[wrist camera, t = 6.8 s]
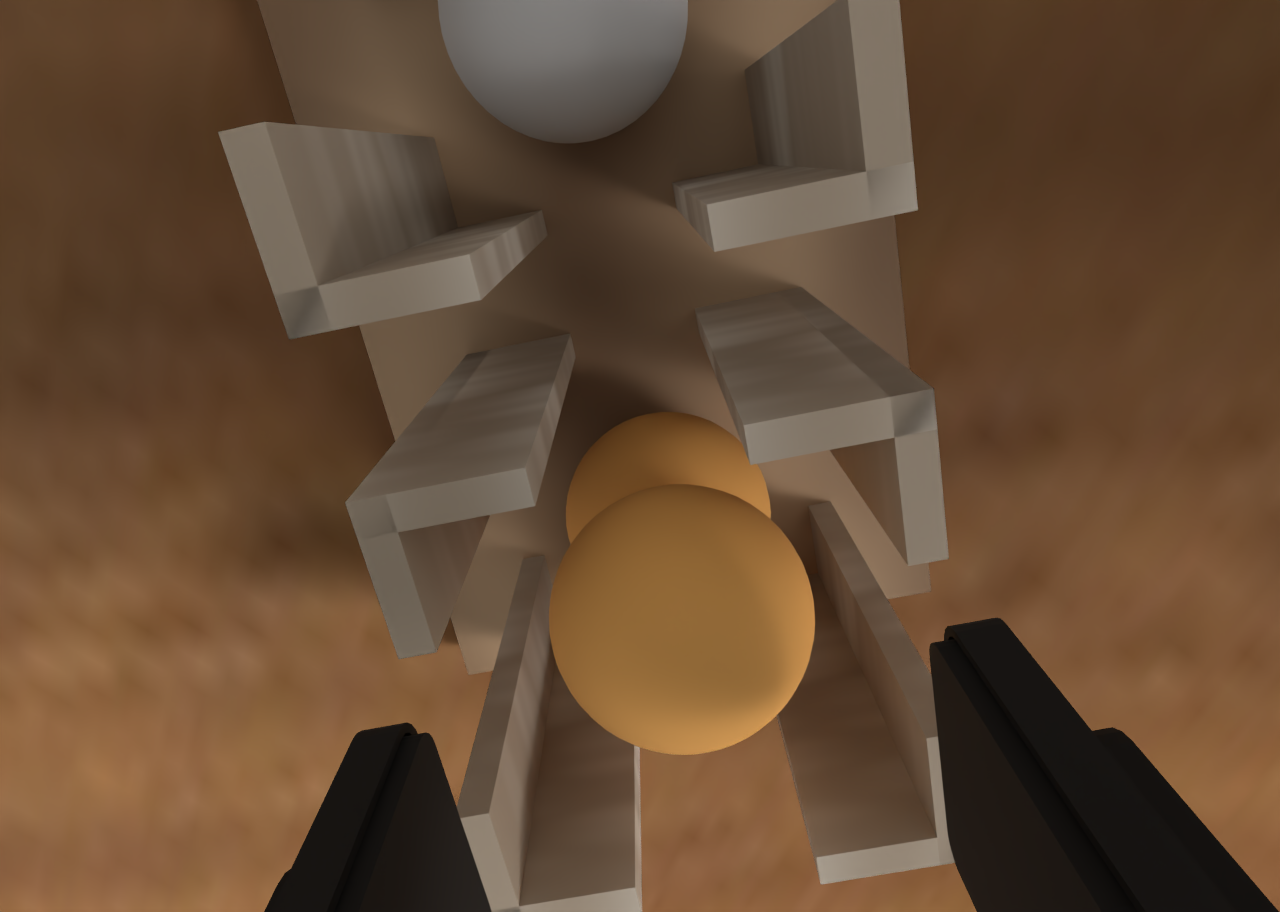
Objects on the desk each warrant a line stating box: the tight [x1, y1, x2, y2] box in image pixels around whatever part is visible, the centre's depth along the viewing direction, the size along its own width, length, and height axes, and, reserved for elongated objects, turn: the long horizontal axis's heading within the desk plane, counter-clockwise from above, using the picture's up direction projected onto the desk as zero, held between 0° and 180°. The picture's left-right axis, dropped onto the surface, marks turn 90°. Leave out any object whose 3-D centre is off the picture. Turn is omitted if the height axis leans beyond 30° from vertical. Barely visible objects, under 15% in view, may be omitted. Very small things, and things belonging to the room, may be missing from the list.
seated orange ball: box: [566, 412, 771, 544], centre depth 17 cm, size 4×4×4 cm
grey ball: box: [438, 0, 688, 143], centre depth 14 cm, size 4×4×4 cm
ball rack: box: [218, 0, 955, 912], centre depth 14 cm, size 11×17×9 cm, turn 11°
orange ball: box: [549, 484, 815, 755], centre depth 13 cm, size 4×4×4 cm
